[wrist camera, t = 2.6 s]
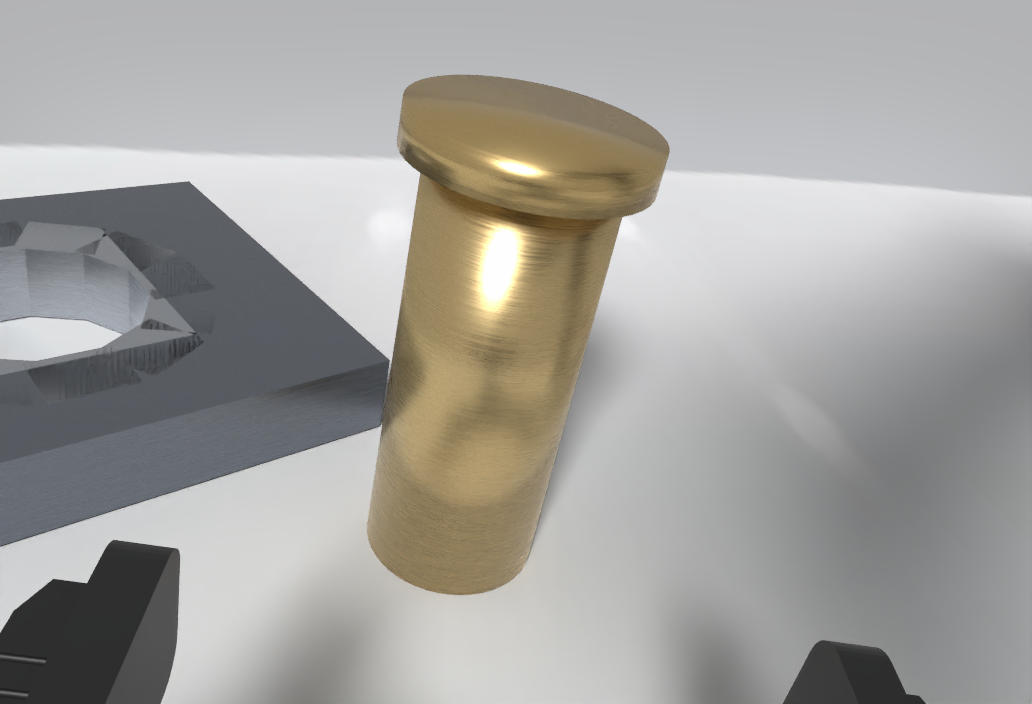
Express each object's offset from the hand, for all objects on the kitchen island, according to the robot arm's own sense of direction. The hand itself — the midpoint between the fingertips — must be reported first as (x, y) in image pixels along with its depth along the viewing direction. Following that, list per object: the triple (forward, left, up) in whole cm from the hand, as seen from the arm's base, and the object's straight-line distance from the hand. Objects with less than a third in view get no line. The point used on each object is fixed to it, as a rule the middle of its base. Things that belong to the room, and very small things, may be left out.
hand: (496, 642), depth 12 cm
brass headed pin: (-8, -9, -9) cm, 14 cm away
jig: (-1, -21, -9) cm, 22 cm away
